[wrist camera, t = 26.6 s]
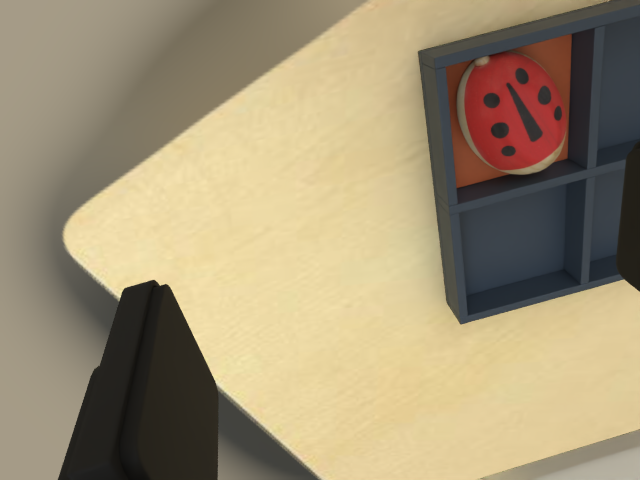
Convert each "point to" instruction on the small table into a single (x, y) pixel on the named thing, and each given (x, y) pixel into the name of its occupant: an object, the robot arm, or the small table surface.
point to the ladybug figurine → (511, 113)
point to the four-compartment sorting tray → (546, 185)
